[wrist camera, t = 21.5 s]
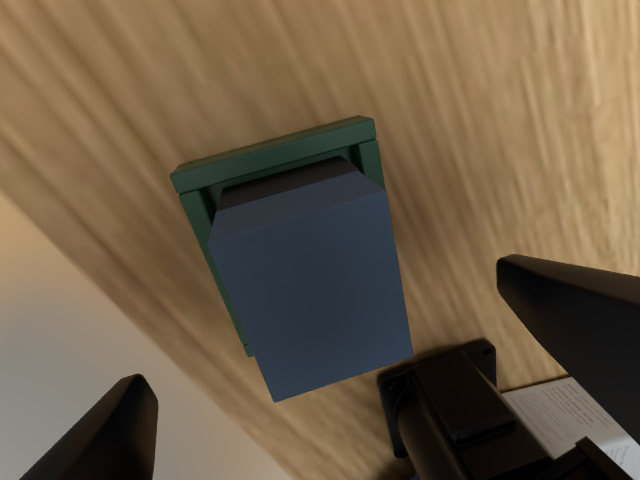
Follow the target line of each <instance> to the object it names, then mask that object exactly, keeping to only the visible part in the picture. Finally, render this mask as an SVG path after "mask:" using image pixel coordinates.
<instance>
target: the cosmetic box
mask: <svg viewBox="0 0 640 480" xmlns="http://www.w3.org/2000/svg"><path fill="white" fill-rule="evenodd" d="M502 396H503V397H504V398H505V399H506V400H507V402H508V403H509V404H510V405H511V406H512V408H513V409H514V410H515V411H516V412H517V414H518V415H519V416H520V417H521V418H522V419H523V421H524V422H525V423H526V424H527V425H528V427H529V428H530V429H531V430H532V431H533V433H534V434H535V435H536V436H537V437H538V439H539V440H540V441H541V442H542V443H543V445H544V446H545V447H546V448H547V449H548V451H549V452H550V453H551V454H552V455H553V457H554V458H555V459H556V458H557V457H559V456H561V455H562V454H564V453H565V452H567V451H568V450H570V449H572V448H573V447H575V444H574V443H575V442H577V441H578V440H580V439H582V438H583V437H585V436H587V437H588V438H589V439H590V440H592V441H593V442H594V443H595V444H596V445H597V446H598V447H599V448H600V449H601V450H602V451H603V452H605V453H606V454H607V455H608V456H609V457H610V458H611V459H612V460H613V461H614V462H615V463H616V464H618V465H619V466H620V467H621V468H622V469H623V470H624V471H625V472H626V473H627V474H628V475H629V476H631V477H632V478H633V479H634V480H640V446H639V445H638V444H637V443H636V442H635V441H634V440H633V439H632V438H631V437H630V436H629V435H628V434H627V433H626V431H625V430H624V429H623V428H622V427H621V426H620V425H619V424H618V423H617V422H616V421H615V420H614V419H613V418H612V417H611V416H610V415H609V414H608V413H607V412H606V411H605V410H604V409H603V408H602V407H601V406H600V405H599V404H598V403H597V402H596V401H595V400H594V399H593V398H592V397H591V396H590V395H589V394H588V393H587V392H586V391H585V390H584V389H583V388H582V387H581V386H580V385H579V384H578V383H577V381H576V380H575V379H574V378H573V377H568V378H564V379H560V380H556V381H552V382H547V383H543V384H539V385H535V386H531V387H526V388H523V389H518V390H514V391H510V392H505V393H502Z"/></svg>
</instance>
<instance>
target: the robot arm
mask: <svg viewBox="0 0 640 480" xmlns="http://www.w3.org/2000/svg"><path fill="white" fill-rule="evenodd" d="M496 277H497V289H498V292H499V294H500V295H501V297H502V298H503V299H504V300H505V302H506V303H507V304H508V305H509V307H510V308H511V309H512V310H513V312H514V313H515V314H516V315H517V317H518V318H519V319H520V320H521V322H522V323H523V324H524V325H525V327H526V328H527V329H528V330H529V332H530V333H531V334H532V335H533V336H534V338H535V339H536V340H537V341H538V342H539V343H540V344H541V346H542V347H543V348H544V349H545V350H546V351H547V352H548V353H549V354H550V355H551V356H552V357H553V358H554V359H555V360H556V361H557V362H558V363H559V364H560V365H561V366H562V367H563V368H564V369H565V370H566V371H567V372H568V373H569V374H570V375H571V376H572V377H573V378H574V379H575V380H576V381H577V383H578V384H579V385H580V386H581V387H582V388H583V389H584V390H585V391H586V392H587V393H588V394H589V395H590V396H591V397H592V398H593V399H594V400H595V401H596V402H597V403H598V404H599V405H600V406H601V407H602V408H603V409H604V410H605V411H606V412H607V413H608V414H609V415H610V416H611V417H612V418H613V419H614V420H615V421H616V422H617V423H618V424H619V425H620V426H621V427H622V428H623V429H624V430H625V431H626V433H627V434H628V435H629V436H630V437H631V438H632V439H633V440H634V441H635V442H636V443H637V444H638V445H639V446H640V277H638V276H632V275H627V274H621V273H616V272H610V271H605V270H599V269H594V268H588V267H583V266H577V265H572V264H566V263H561V262H555V261H550V260H544V259H539V258H533V257H528V256H523V255H517V254H511V255H508V256H505V257H502V258H499V259H498V260H497V263H496ZM386 382H388V383H386ZM377 386H378V391H379V395H380V399H381V403H382V408H383V412H384V416H385V421H386V425H387V429H388V433H389V438H390V442H391V446H392V450H393V452H394V455H395V457H397V458H404V457H407V456H409V457H410V459H411V462H412V464H413V466H414V468H415V471H416V473H417V475H418V478H419V480H634V479H633V478H632V477H631V476H629V475H628V474H627V473H626V472H625V471H624V470H623V469H622V468H621V467H620V466H619V465H618V464H616V463H615V462H614V461H613V460H612V459H611V458H610V457H609V456H608V455H607V454H606V453H605V452H603V451H602V450H601V449H600V448H599V447H598V446H597V445H596V444H595V443H594V442H593V441H592V440H590V439H589V438H588V437H587V436H585V437H583V438H582V439H580V440H578V441H577V442H575V443H574V444H575V447H573V448H572V449H570V450H568V451H567V452H565V453H564V454H562V455H561V456H559V457H557V458H556V459H555V458H554V457H553V455H552V454H551V453H550V452H549V451H548V449H547V448H546V447H545V446H544V445H543V443H542V442H541V441H540V440H539V439H538V437H537V436H536V435H535V434H534V433H533V431H532V430H531V429H530V428H529V427H528V425H527V424H526V423H525V422H524V421H523V419H522V418H521V417H520V416H519V415H518V414H517V412H516V411H515V410H514V409H513V408H512V406H511V405H510V404H509V403H508V402H507V400H506V399H505V398H504V397H503V396H502V394H501V393H500V392H499V391H498V390H497V380H496V349H495V346H494V345H493V344H492V343H491V342H490V341H488V340H481V341H478V342H475V343H472V344H469V345H466V346H463V347H460V348H457V349H454V350H451V351H448V352H445V353H442V354H439V355H436V356H433V357H430V358H427V359H424V360H421V361H418V362H415V363H412V364H409V365H406V366H403V367H400V368H397V369H394V370H391V371H388V372H385V373H383V374H381V375H380V376H379V377H378V378H377ZM157 420H158V400H157V397H156V395H155V394H154V392H153V390H152V389H151V388H150V386H149V384H148V382H147V381H146V379H145V378H144V377H143V375H141V374H134V375H131V376H128V377H125V378H122V379H120V380H119V381H118V382H117V383H116V384H115V385H114V386H113V387H112V388H111V389H110V390H109V391H108V392H107V393H106V394H105V395H104V396H103V397H102V398H101V399H100V400H99V401H98V402H97V403H96V404H95V405H94V406H93V407H92V408H91V409H90V410H89V411H88V412H87V413H86V414H85V415H84V416H83V417H82V418H81V419H80V420H79V421H78V422H77V423H76V424H75V425H74V426H73V427H72V428H71V429H70V430H69V431H68V432H67V433H66V434H65V435H64V436H63V437H62V438H61V439H60V440H59V441H58V442H57V443H56V444H55V445H54V446H53V447H52V448H51V449H50V450H49V451H48V452H47V453H46V454H45V455H44V456H43V457H42V458H40V459H39V460H38V461H37V463H35V464H34V465H33V466H32V467H31V468H30V469H29V470H28V472H26V473H25V474H24V475H23V477H21V478H20V479H19V480H152V478H153V471H154V461H155V447H156V433H157Z"/></svg>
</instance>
